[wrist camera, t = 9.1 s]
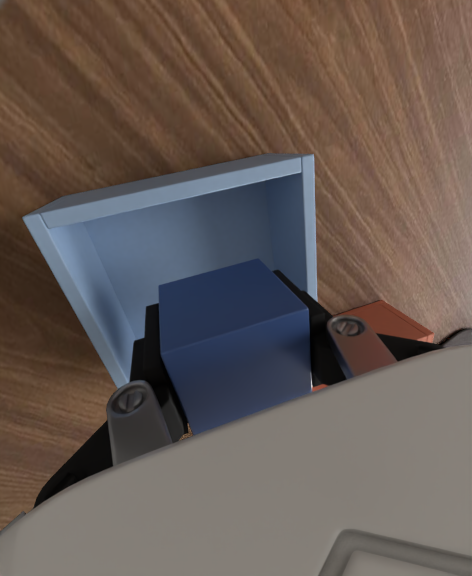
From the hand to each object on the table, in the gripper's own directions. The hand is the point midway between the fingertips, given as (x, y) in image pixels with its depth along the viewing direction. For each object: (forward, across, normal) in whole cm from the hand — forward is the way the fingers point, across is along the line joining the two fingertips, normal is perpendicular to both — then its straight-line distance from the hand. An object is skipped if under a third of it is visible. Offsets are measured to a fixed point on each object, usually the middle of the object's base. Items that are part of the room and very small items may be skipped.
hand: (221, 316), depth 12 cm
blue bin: (+6, 0, 0) cm, 6 cm away
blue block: (0, 0, 0) cm, 0 cm away
